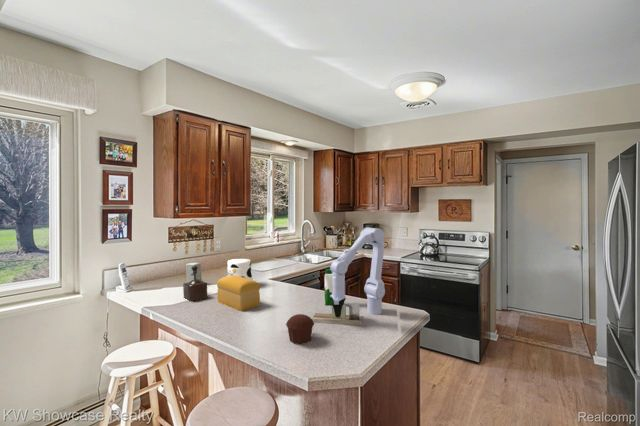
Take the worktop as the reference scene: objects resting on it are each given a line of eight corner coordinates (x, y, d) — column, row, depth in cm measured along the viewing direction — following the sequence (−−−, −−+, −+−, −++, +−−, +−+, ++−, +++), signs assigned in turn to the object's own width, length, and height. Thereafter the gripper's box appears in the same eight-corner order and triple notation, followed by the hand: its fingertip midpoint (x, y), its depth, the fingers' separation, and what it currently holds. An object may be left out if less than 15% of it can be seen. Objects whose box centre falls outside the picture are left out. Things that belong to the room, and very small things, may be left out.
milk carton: (326, 302, 181) (326, 267, 181) (342, 303, 180) (342, 268, 179) (323, 307, 173) (323, 270, 172) (340, 308, 171) (339, 271, 170)
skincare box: (202, 285, 220) (201, 262, 220) (193, 288, 214) (192, 264, 214) (194, 284, 225) (194, 261, 224) (185, 286, 219) (185, 263, 218)
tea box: (333, 316, 153) (333, 304, 153) (345, 317, 152) (345, 304, 152) (331, 319, 149) (331, 307, 148) (344, 320, 147) (344, 307, 147)
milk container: (221, 289, 211) (220, 262, 211) (235, 283, 228) (235, 257, 227) (244, 291, 206) (243, 263, 206) (257, 284, 223) (256, 259, 222)
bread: (216, 302, 184) (216, 276, 183) (236, 297, 193) (235, 272, 193) (240, 311, 167) (240, 283, 167) (260, 305, 177) (260, 279, 176)
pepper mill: (209, 298, 192) (208, 268, 191) (191, 302, 183) (190, 271, 183) (196, 293, 202) (196, 264, 202) (179, 297, 194) (178, 267, 193)
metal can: (349, 317, 155) (349, 302, 154) (360, 317, 154) (360, 303, 153) (348, 320, 150) (348, 306, 150) (359, 321, 149) (359, 306, 148)
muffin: (314, 333, 138) (314, 311, 138) (314, 345, 127) (314, 320, 127) (286, 334, 138) (286, 311, 137) (284, 345, 127) (284, 320, 126)
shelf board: (315, 315, 161) (315, 309, 161) (363, 318, 156) (363, 312, 156) (309, 324, 149) (309, 317, 149) (361, 328, 144) (361, 321, 144)
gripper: (332, 282, 158) (332, 309, 158) (327, 290, 143) (327, 320, 144) (347, 283, 156) (347, 310, 157) (343, 290, 142) (343, 321, 142)
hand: (338, 315), depth 150 cm, fingers closed on tea box, 4 cm apart
